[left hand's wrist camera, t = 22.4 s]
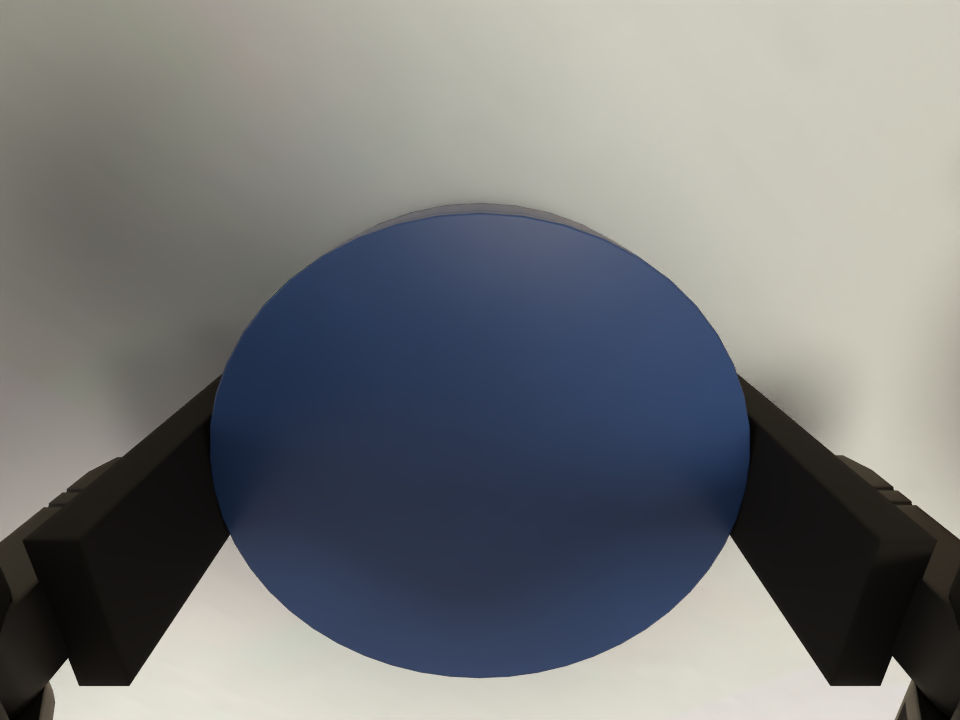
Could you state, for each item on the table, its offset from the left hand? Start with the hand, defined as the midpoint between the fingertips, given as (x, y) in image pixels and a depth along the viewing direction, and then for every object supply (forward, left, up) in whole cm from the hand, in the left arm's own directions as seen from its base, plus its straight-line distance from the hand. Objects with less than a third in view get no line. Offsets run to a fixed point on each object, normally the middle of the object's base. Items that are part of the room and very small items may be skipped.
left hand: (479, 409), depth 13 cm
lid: (0, 0, +3) cm, 3 cm away
